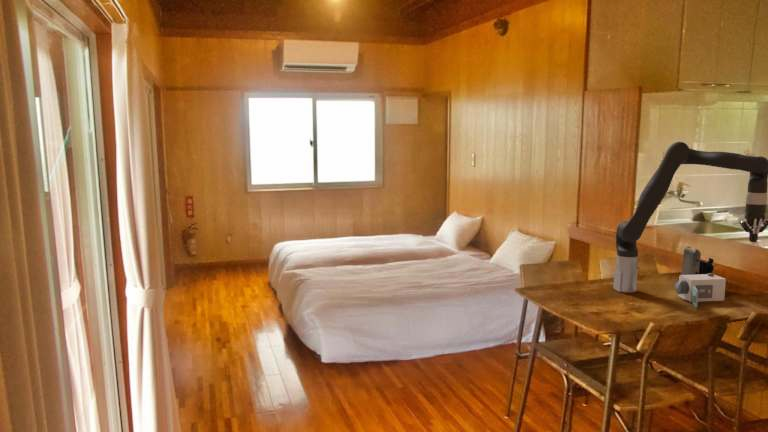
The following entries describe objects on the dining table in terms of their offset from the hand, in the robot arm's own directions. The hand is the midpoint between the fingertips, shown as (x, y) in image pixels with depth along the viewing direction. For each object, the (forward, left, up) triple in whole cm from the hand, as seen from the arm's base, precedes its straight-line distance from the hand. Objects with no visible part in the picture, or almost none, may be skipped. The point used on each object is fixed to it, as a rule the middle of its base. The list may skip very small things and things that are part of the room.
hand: (753, 241), depth 244 cm
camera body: (-19, +7, -27) cm, 34 cm away
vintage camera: (-6, +24, -27) cm, 37 cm away
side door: (-27, -2, -27) cm, 38 cm away
